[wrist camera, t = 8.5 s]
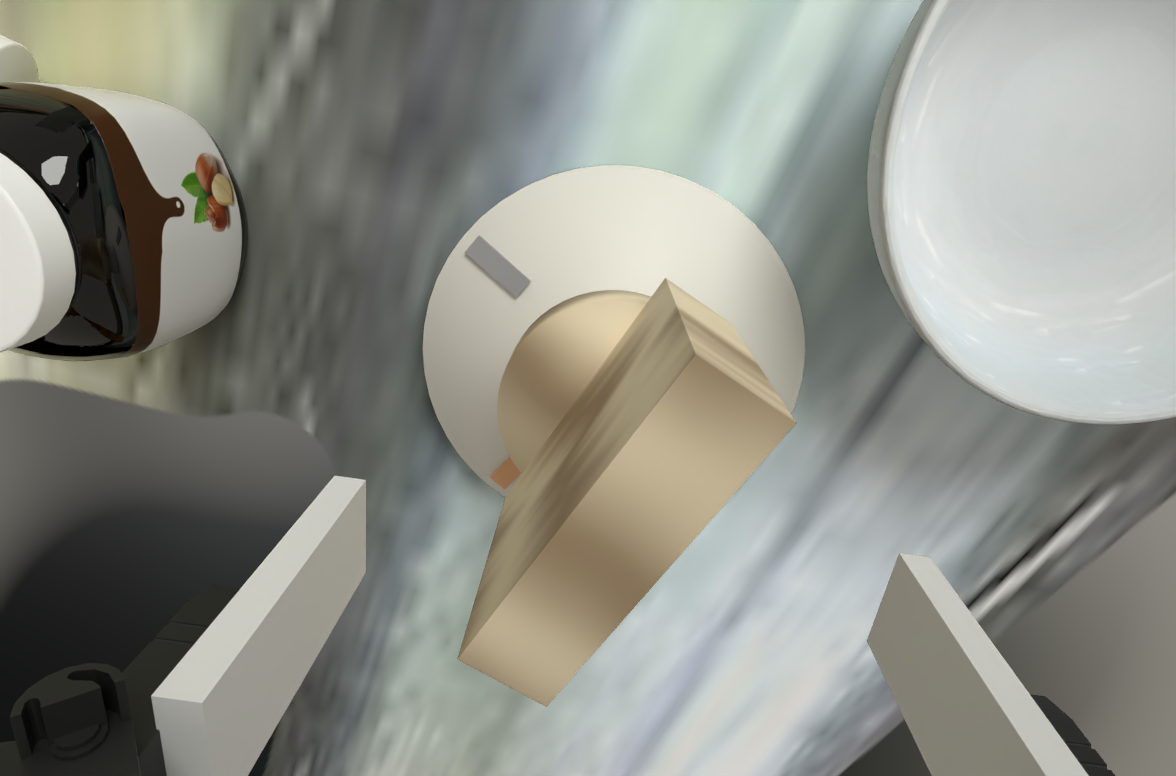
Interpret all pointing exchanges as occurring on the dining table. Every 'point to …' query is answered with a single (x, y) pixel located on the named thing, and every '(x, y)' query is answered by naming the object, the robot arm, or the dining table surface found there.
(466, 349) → the dial plate
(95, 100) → the spread jar
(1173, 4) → the serving bowl
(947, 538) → the dining table surface
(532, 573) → the lever handle
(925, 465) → the dining table surface
